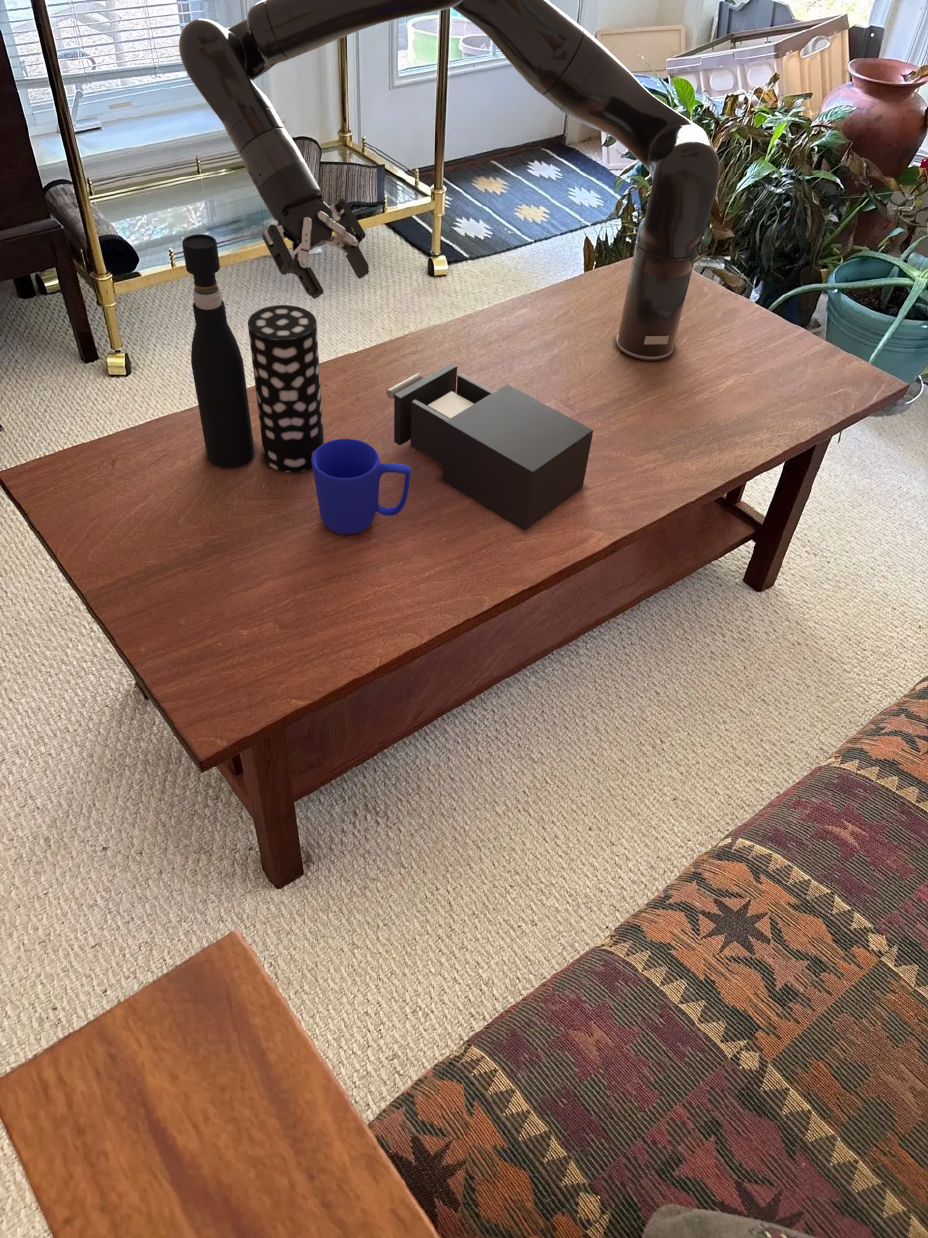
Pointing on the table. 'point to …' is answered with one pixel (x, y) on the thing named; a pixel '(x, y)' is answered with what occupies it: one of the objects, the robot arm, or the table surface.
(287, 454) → the spotted tube
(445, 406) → the block
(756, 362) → the table surface
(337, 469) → the mug
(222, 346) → the black bottle
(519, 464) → the cabinet
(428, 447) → the drawer
